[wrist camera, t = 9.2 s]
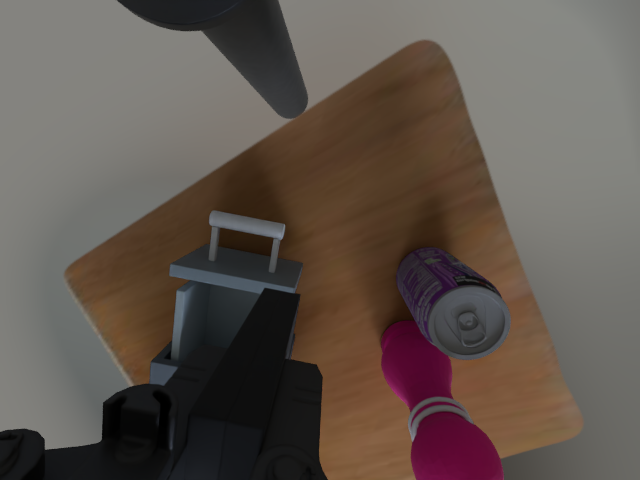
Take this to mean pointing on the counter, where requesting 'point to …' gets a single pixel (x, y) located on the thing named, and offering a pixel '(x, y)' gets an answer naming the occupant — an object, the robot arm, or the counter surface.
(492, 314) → the beverage can
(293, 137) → the counter surface
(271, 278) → the drawer
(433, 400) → the pepper mill
